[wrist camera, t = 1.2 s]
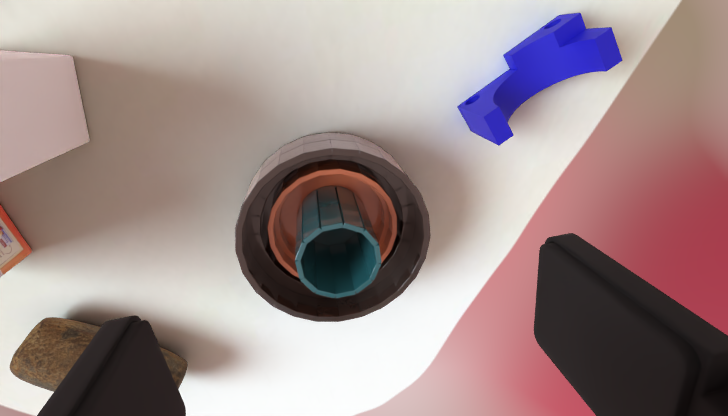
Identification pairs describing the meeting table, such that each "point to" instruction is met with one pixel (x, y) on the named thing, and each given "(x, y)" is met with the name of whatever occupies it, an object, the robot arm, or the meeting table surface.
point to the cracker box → (10, 244)
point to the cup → (335, 243)
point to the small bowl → (320, 176)
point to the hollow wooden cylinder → (65, 353)
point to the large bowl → (288, 288)
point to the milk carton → (38, 110)
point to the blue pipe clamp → (539, 71)
